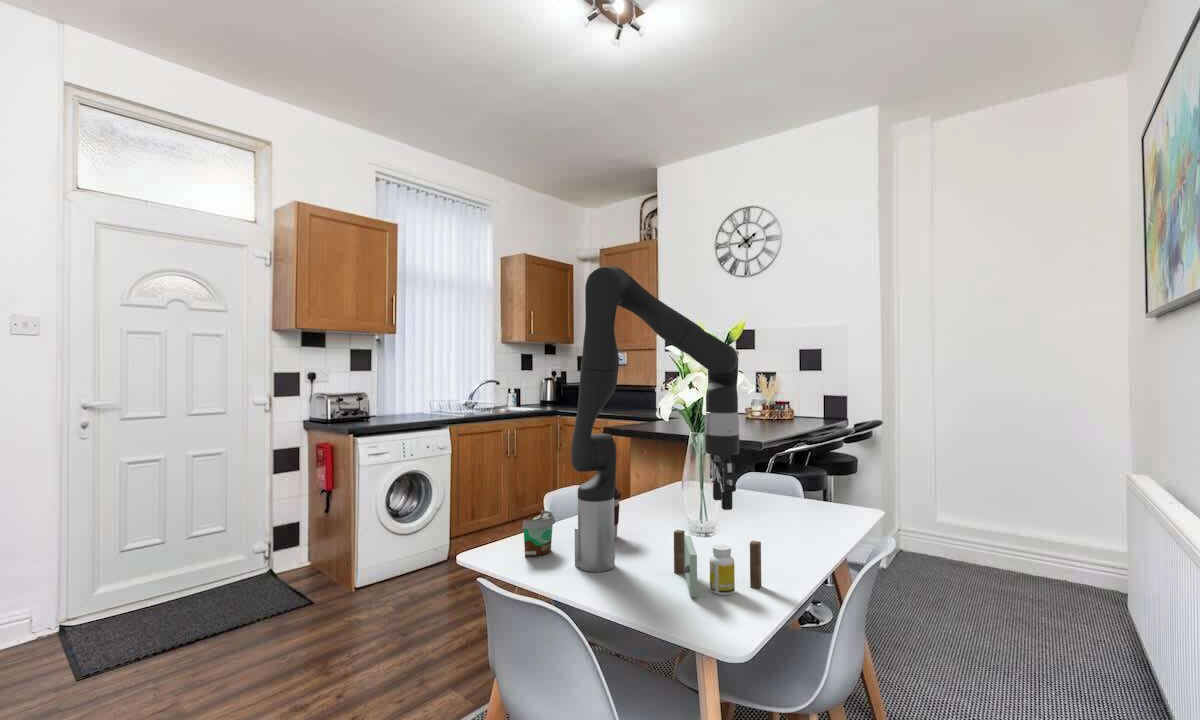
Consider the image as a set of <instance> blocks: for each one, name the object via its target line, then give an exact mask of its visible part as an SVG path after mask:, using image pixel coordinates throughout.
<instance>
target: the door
mask: <svg viewBox="0 0 1200 720" xmlns="http://www.w3.org/2000/svg"><path fill="white" fill-rule="evenodd" d="M697 554H698V553H697V552H696V549H695V544H694V542H693V539H692V536H691V535H685V536H684V573H683V574H684V577H685V580H686V584H687V588H688V593H689V597H690V598H698V555H697Z"/></svg>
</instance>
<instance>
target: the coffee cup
mask: <svg viewBox="0 0 1200 720" xmlns="http://www.w3.org/2000/svg"><path fill="white" fill-rule="evenodd" d="M621 498H622V492H621V490H618V489H617V487H616V486H615V490H614V540H616V539H617V537H618V525H619V523H620V522H619V521H620V520H619V517H620V499H621Z"/></svg>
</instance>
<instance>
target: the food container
mask: <svg viewBox="0 0 1200 720" xmlns="http://www.w3.org/2000/svg"><path fill="white" fill-rule="evenodd" d="M555 523H556V519H555V516H554V514H553V512H551V511H549V510H544V509H543V510H542V509H541V510H540V514H538V515H535V516H532V517H531V518H530V519H529V520H526V519H524V520H523V522H522V529H523V542H524V544H523V545H524V558H529V557H530V558H540V557H539V556H541V557H545V556H548V555H549V554H551V552H552V541H553V540H552V537H553V525H554V524H555ZM547 554H548V555H547ZM544 555H545V556H544Z"/></svg>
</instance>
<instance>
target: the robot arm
mask: <svg viewBox="0 0 1200 720" xmlns="http://www.w3.org/2000/svg"><path fill="white" fill-rule="evenodd" d="M584 287H585V290H584V291H585V292H584V294H585V295H584V299H585V303H584V305H585V306H584V307H585V313H584V314H585V324H584V334H583V335H584V337H583V344H582V354H581V355H582V356H581V361H580V362H581V363H580V370H579V371H580V373H579V387H578V399H577V400H578V401H577V402H578V403H577V409H576V410H577V411H576V417H575V422H574V428H573V433H572V439H571V440H572V441H571V448H570V460H571V465H572V468H573V470H575V471H577V472H582V473H585V472H587V473H588V472H596V473H595V474H594V476H593V477H592V478H590V479H589V480H587V481H586V482H583V483H582V484H580V485H579V486H578V488H577V527H575V528H574V566H575V567H577V568H579V570H582V571H585V572H591V573H602V572H608V571H610V570H613V568H614V567H615V561H616V560H615V551H616V550H615V549H616V548H615V539H614V490H615V487H616V480H617V479H616V478H617V477H616V476H617V475H616V474H617V455H618V453H617V445H616V441H615V439H614V437H613V436H612V435H611V434H610V433H593V428H594V424H595V423H596V420H597V417H598V416H599V415H600V412H601V411H602V410H603V408H605V406H606V404H607V403H608V401H610V399H611V397H612V396H613V395H614V393H615V391H616V389H617V384H618V375H619V367H620V357H619V356H620V355H619V350H618V345H617V341H616V336H615V334H616V333H615V322H616V314H617V309H618V308H617V307H621V308H622V309H624V310H625V309H626V310H627V311H629V312H631V313H633V314H634V315H636V316H637V317H639V319H640V320H642V321H644V323H645V324H646V325H647V326H648V327H650V328H651V330H652V331H653V332H654V333H656V335H658V336H659V337H661V339H663V340H664V341H666V343H669V344H670V345H671V346H673V347H675V348H676V349H677V350H679V351H681V352H683V353H684V354H686V355H688V356H689V357H691V358H692V359H694V360H695V362H696V363H698V364H700V365H701V366H702V367H704V368H705V369H706V370H707V383H708V384H707V388H706V392H705V417H704V450H705V453H706V454H708V455H709V457H710V458H709V478H710V480H711V482H712V498H713V501H721V509H722V510H723V511H731V510H732V509H733V493H734V492H736V491H737V487H736V485H737V483H736V477H737V476H736V475H737V474H736V467H737V466H736V463H735V462H732V461H731V456H736V455H738V454H739V453H740V420H739V397H738V395H739V394H738V377H739V356H738V353H737V350H736V349H735V348H734V347H733V346H732V345H730V344H728V343H726V342H724V341H722V340H721V339H719V338H717V337H716V336H714V335H712V334H711V333H709V332H707V331H705V329H703V328H702V327H701V326H700V325H698V324H697V323H695V322H694V321H692V320H691V319H689V317H686V316H685V315H683V314H682V313H680V312H679V311H677V310H675V309H674V308H672V307H670V306H668V304H665V303H664V302H662V301H661V300H660V299H658V298H657V297H655V296H654V295H653V294H651V293H650V292H649V291H648V290H647V289H646V288H644V287H643V286H642V285H640V283H638V282H637V280H635V279H634V278H633V277H632V276H631V275H630V274H629V273H627V272H626V271H625V270H624V269H623V268H621V267H618V266H599V267H596V268H594V269H593V270H592V271H591V272H590V273H589V274H588V276H587V278H586V282H585V286H584ZM727 484H728V485H727Z"/></svg>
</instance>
